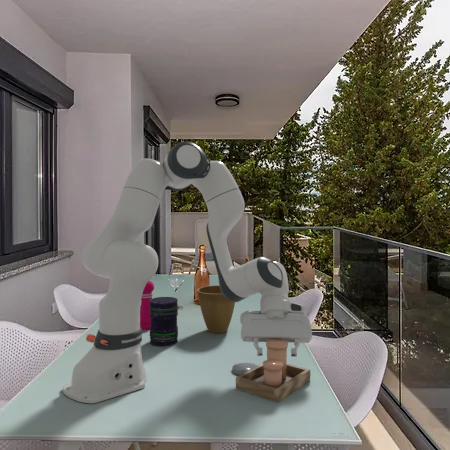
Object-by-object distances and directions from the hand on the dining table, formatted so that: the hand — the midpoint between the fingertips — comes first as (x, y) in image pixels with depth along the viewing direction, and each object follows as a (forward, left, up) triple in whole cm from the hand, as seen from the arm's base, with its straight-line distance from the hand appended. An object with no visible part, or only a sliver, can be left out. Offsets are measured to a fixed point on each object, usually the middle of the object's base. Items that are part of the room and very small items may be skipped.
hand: (276, 355), depth 123 cm
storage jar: (+3, +48, -7) cm, 49 cm away
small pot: (-8, -4, -6) cm, 10 cm away
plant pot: (+25, +42, -7) cm, 49 cm away
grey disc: (0, +10, -7) cm, 13 cm away
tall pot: (0, 0, -6) cm, 6 cm away
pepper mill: (+11, +66, -7) cm, 67 cm away
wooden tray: (-3, -1, -7) cm, 8 cm away
